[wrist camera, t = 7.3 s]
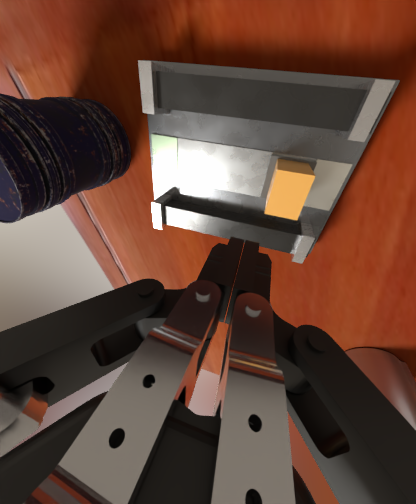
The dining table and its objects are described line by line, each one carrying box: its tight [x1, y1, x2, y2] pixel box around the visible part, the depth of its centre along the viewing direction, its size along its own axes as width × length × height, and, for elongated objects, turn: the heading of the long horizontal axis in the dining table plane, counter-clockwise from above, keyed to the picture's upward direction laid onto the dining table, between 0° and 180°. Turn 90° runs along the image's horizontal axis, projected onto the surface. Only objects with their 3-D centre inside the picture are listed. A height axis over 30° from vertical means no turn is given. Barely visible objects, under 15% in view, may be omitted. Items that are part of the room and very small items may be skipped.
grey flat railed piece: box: [138, 60, 400, 264], centre depth 22 cm, size 22×17×5 cm
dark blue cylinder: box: [0, 94, 131, 223], centre depth 21 cm, size 10×10×15 cm
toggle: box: [260, 154, 317, 220], centre depth 19 cm, size 4×4×5 cm
